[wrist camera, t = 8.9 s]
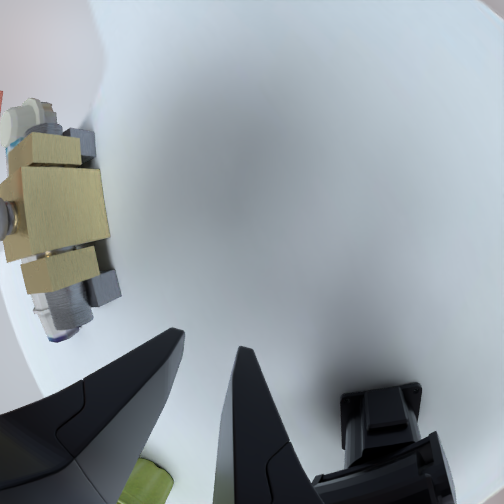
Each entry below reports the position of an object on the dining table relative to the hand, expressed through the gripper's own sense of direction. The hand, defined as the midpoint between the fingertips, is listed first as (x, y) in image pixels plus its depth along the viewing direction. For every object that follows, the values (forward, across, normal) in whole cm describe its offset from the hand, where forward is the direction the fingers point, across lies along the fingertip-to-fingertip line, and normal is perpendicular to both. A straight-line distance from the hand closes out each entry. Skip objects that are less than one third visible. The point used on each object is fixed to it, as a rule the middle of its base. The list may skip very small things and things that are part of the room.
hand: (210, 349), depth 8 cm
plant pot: (+8, +6, +34) cm, 36 cm away
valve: (+15, +15, +3) cm, 21 cm away
